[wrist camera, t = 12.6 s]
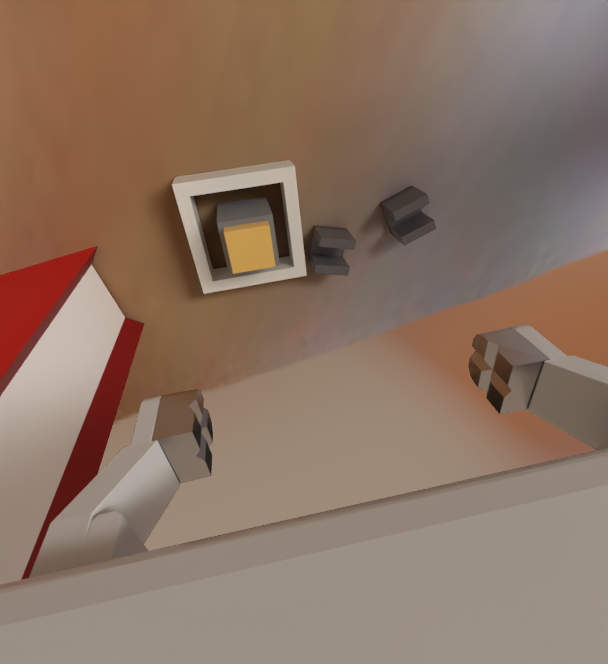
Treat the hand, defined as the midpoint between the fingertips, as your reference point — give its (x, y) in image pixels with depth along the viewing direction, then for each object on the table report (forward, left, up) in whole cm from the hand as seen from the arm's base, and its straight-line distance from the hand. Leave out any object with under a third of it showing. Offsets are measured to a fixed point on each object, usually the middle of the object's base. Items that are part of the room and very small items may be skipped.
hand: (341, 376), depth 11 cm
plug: (+2, +3, -24) cm, 24 cm away
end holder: (+2, +3, -24) cm, 24 cm away
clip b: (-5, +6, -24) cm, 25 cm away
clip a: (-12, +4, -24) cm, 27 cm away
